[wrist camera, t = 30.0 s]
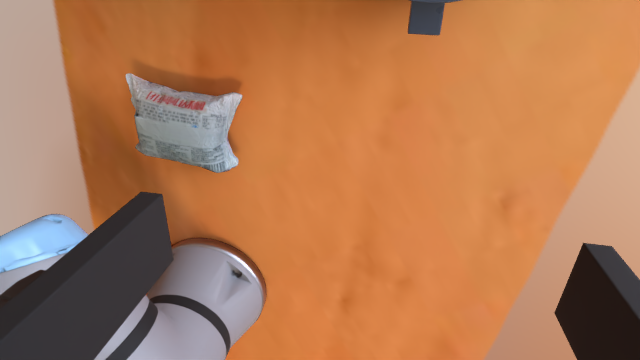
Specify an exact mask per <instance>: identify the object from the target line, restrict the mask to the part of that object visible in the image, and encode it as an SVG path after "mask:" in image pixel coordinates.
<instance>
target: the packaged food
mask: <svg viewBox="0 0 640 360" xmlns="http://www.w3.org/2000/svg"><path fill="white" fill-rule="evenodd" d="M126 80H127V83H128V85H129V89H130V92H131V94H132V98H131V101H132V103H133V105H134V107H135V109H136V113H135V115H134V116H135V123H136V129H137V133H138V138H139V143H138V144H137V145H136V147H135V148H136V149H137V150H138V151H140V152H141V153H143V154H145V155H146V156H151V157H157V158H163V159H168V160H173V161H178V162H181V163H185V164H190V165H194V166H199V167H202V168H205V169H208V170H210V171H213V172H216V173H219V172H225V171H229V170H230V169H231V168H232V167H235V166H237V165H238V158H237V157H236V156H235V155H234V154H233V152H232V149H231V147H230V144H229V141H228V137H227V135H228V131H229V128H230V125H231V123H232V120H233V117H234V114H235V112H236V109H237V106H238V105H239V104H240V101H241V100H242V95H241V94H239V93H236V92H235V93H233V92H231V93H228V94H223V95H219V96H212V95H206V94H200V93H194V92H187V91H182V92H178V91H176V90H174V89H172V88H169V87H166V86H163V85H160V84H156V83H152V82H149V81H147V80H143V79H142V78H139V77H137V76H135V75H133V74H131V73H128V74H126ZM133 100H134V101H133Z"/></svg>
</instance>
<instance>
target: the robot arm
mask: <svg viewBox="0 0 640 360" xmlns="http://www.w3.org/2000/svg"><path fill="white" fill-rule="evenodd" d="M147 293H148V294H147ZM146 294H147V296H146ZM265 301H266V285H265V282H264V279H263V277H262V274H261V273H260V271H259V269H258V268H257V267H256V265H255V264H254V263H253V262H252V261H251V260H250V259H249V258H248V257H247V256H246V255H245V254H243V253H242V252H241V251H239V250H238V249H236V248H234V247H232V246H230V245H228V244H226V243H223V242H220V241H217V240H213V239H208V238H192V239H186V240H183V241H181V242H178V243H176V244H175V245H173V246H172V247H171V242H170V236H169V230H168V224H167V219H166V213H165V207H164V201H163V196H162V194H156V193H148V192H140V193H139V194H138V195H137V196H135V197H134V198H133V199H132V200H131V201H129V202H128V203H127V204H126V205H124V206H123V207H122V208H121V209H120V210H118V211H117V212H116V213H115V214H114V215H112V216H111V217H110V218H109V219H108V220H106V221H105V222H104V223H103V224H101V225H100V226H99V227H98V228H97V229H95V230H94V231H93V232H92V233H91V234H89V235H88V234H87V233H86V232H85V231H84V230H83V229H81V228H80V227H79V226H78V225H77V224H76V223H75V222H74V221H73V220H72V219H71V218H69V217H67V216H65V215H60V214H50V215H45V216H42V217H40V218H38V219H35V220H33V221H31V222H29V223H27V224H24V225H22V226H20V227H18V228H16V229H14V230H12V231H10V232H8V233H6V234H4V235H2V236H0V360H225V358H226V356H227V354H228V352H229V350H230V348H231V347H232V346H233V345H234V344H235V342H236V341H237V340H238V339H239V338H240V337H241V336H242V335H243V334H244V333H245V332H246V331H247V330H248V329H249V328H250V327H251V326H252V325H253V324H254V323H255V322H256V321H257V319H258V318H259V316H260V314H261V311H262V309H263V306H264V304H265ZM555 315H556V317H557V319H558V321H559V323H560V325H561V327H562V329H563V331H564V333H565V335H566V338H567V340H568V342H569V343H570V346H571V348H572V350H573V352H574V354H575V356H576V358H577V360H640V280H639V278H638V277H637V276H636V275H635V274H634V273H633V271H632V270H631V269H630V268H629V266H628V265H627V264H626V263H625V262H624V260H623V259H622V258H621V257H620V256H619V254H618V253H617V252H616V251H615V249H614V248H613V247H612V246H604V245H596V244H587V243H583V245H582V247H581V250H580V252H579V255H578V257H577V260H576V262H575V264H574V267H573V269H572V272H571V274H570V277H569V279H568V281H567V284H566V287H565V289H564V291H563V294H562V296H561V298H560V301H559V303H558V306H557V308H556V311H555Z"/></svg>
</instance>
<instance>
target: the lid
mask: <svg viewBox="0 0 640 360" xmlns="http://www.w3.org/2000/svg"><path fill="white" fill-rule="evenodd" d="M410 1H416V2H425V3H449V2H455V1H461V0H410Z"/></svg>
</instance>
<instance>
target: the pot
mask: <svg viewBox="0 0 640 360" xmlns="http://www.w3.org/2000/svg"><path fill="white" fill-rule="evenodd" d="M444 5H445V3H425V2H416V1H411V8H410V16H409V24H408V34H422V35H440V30H441V24H442V18H443V11H444Z"/></svg>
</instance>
